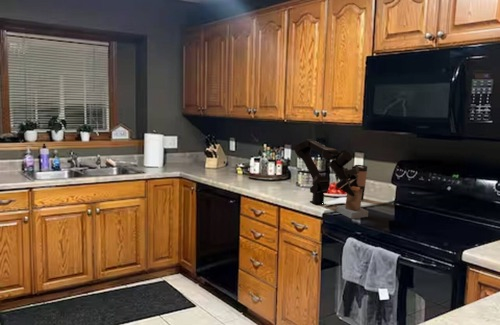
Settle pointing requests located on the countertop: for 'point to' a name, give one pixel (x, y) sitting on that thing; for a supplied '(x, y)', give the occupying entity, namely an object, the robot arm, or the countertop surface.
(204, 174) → the countertop surface
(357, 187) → the cargo block
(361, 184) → the travel mug
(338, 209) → the dock
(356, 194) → the brown cylinder
